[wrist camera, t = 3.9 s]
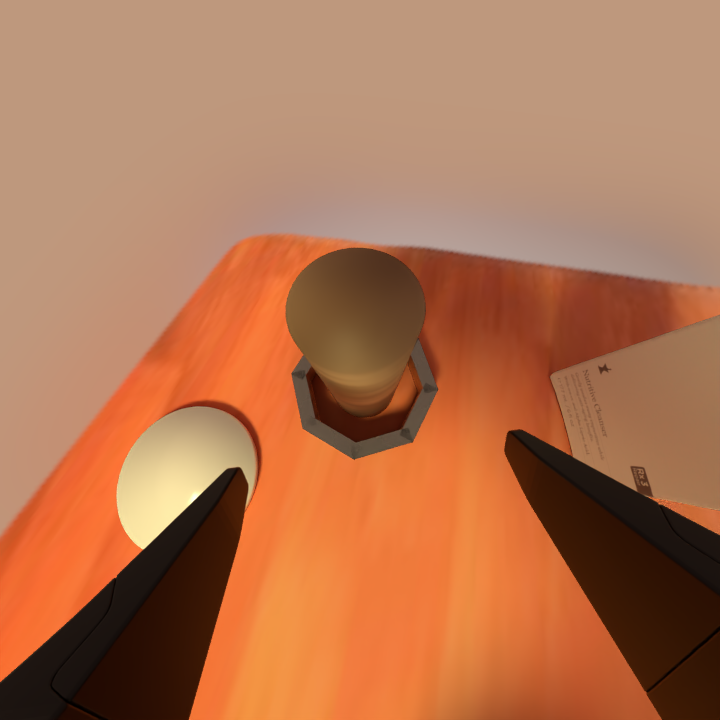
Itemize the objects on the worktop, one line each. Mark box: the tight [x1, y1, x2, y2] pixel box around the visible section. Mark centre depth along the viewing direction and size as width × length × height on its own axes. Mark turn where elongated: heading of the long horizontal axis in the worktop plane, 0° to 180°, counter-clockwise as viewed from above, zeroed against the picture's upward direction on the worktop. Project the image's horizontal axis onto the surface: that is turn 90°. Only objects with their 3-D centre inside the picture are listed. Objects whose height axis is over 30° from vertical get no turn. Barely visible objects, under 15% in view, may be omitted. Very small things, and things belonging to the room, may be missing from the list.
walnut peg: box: [286, 248, 426, 418], centre depth 15 cm, size 5×5×13 cm
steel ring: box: [292, 338, 438, 460], centre depth 21 cm, size 10×10×2 cm
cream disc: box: [117, 406, 258, 550], centre depth 20 cm, size 10×10×1 cm
